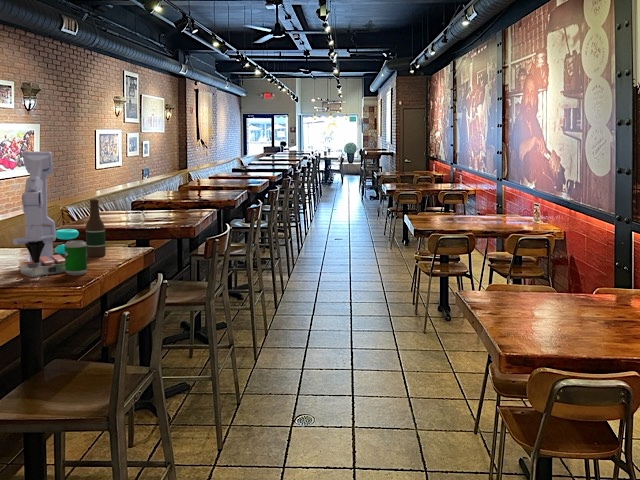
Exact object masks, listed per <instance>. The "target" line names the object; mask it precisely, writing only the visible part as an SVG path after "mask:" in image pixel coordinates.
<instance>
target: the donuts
mask: <svg viewBox="0 0 640 480" xmlns="http://www.w3.org/2000/svg"><path fill="white" fill-rule="evenodd" d="M79 234H80V232H79V231H78V230H77V229H72V228H65V229H64V228H63V229H56V239H59V240H73V239H76V238H77V237H79ZM64 244H65V243H64ZM64 244H60V245H59V244H58V245H57V246H56V247H55V248H54V252H55V253H56V255H65V247H64Z"/></svg>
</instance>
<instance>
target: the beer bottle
mask: <svg viewBox="0 0 640 480" xmlns="http://www.w3.org/2000/svg"><path fill="white" fill-rule="evenodd" d="M99 202H100V201H99V199H97V198H96V199H95V198H93V199H90V200H89V203H90V205H89V206H90V207H89V209H90V210H89V218H88V220H87V222H86V224H85V243H86V253H87V258H100V257H101V258H102V257H105V256H106V252H107V251H106V249H107V248H106V228H105V224H104V221H103V220H102V219H101V215H100V206H99Z"/></svg>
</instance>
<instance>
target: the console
mask: <svg viewBox="0 0 640 480" xmlns="http://www.w3.org/2000/svg"><path fill="white" fill-rule="evenodd" d="M53 262H54V264H51V265H45V264H43V263H34V264H21V265H19V266H20V268H19V269H20V274H22V275H25V276H27V277H31V278H34V277H40V276H42V277H43V276H48V275H54V274H56V275H57V274H63V273H66V270H65V263H57V262H56V261H55V260H53ZM62 272H63V273H62Z"/></svg>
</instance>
